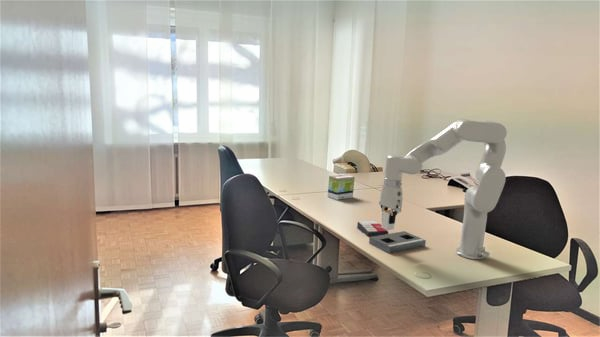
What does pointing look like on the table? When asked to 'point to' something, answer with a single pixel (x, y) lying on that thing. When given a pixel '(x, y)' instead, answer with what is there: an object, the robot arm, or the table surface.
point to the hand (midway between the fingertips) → (388, 221)
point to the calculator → (371, 228)
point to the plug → (386, 220)
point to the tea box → (341, 186)
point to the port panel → (397, 242)
